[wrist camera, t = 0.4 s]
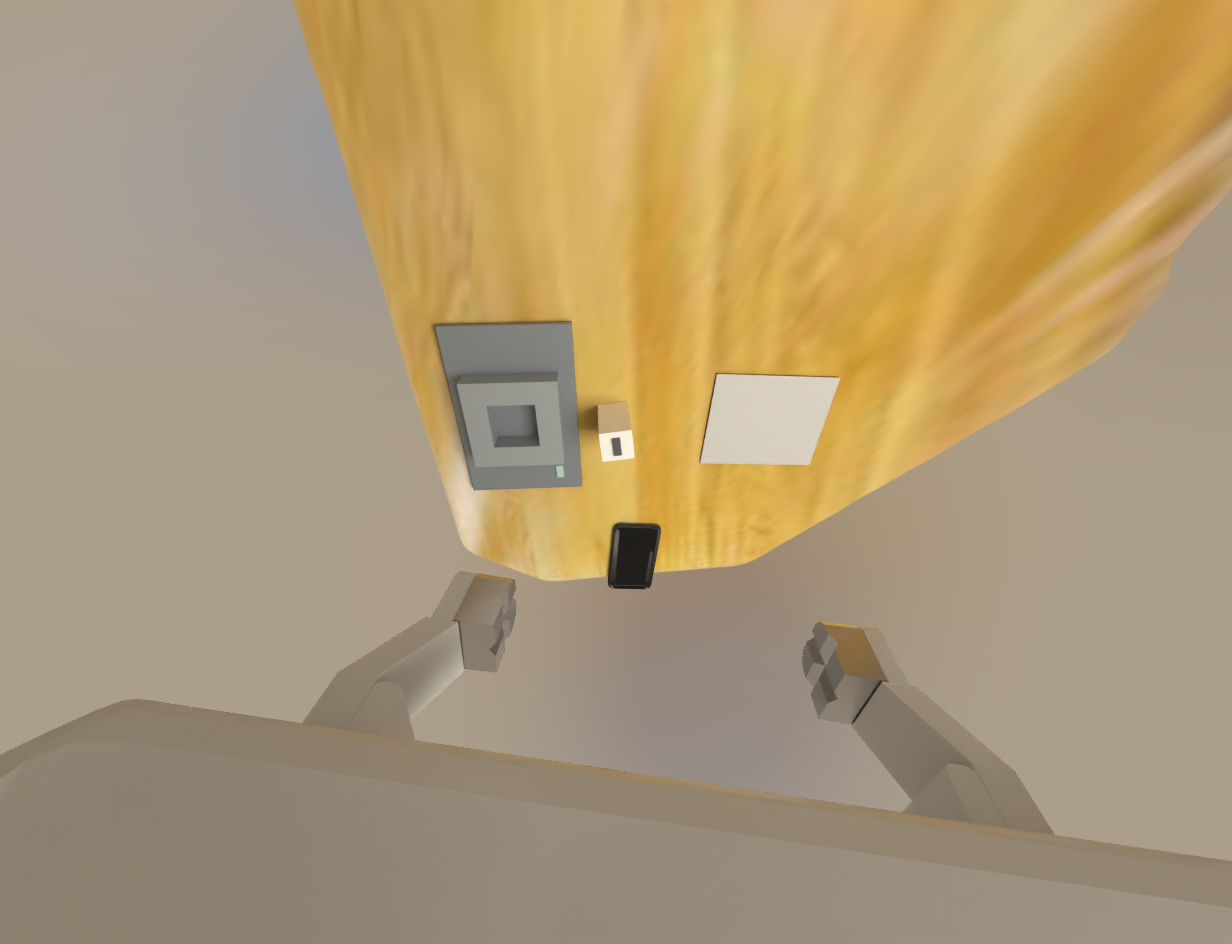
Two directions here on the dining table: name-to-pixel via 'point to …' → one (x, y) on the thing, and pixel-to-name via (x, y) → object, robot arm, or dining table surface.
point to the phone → (633, 555)
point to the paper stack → (766, 418)
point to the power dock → (516, 417)
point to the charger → (615, 431)
